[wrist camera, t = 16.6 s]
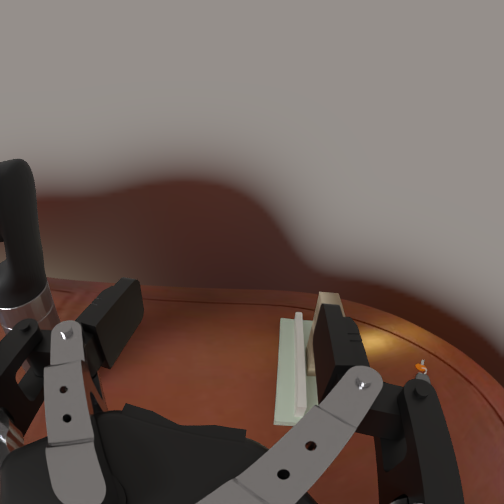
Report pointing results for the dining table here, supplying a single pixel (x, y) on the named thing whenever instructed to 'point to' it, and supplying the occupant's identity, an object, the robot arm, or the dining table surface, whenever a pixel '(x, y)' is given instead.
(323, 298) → the beige tall block
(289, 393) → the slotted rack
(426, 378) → the key chain
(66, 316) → the dining table surface
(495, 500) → the dining table surface
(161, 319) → the dining table surface
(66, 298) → the dining table surface
